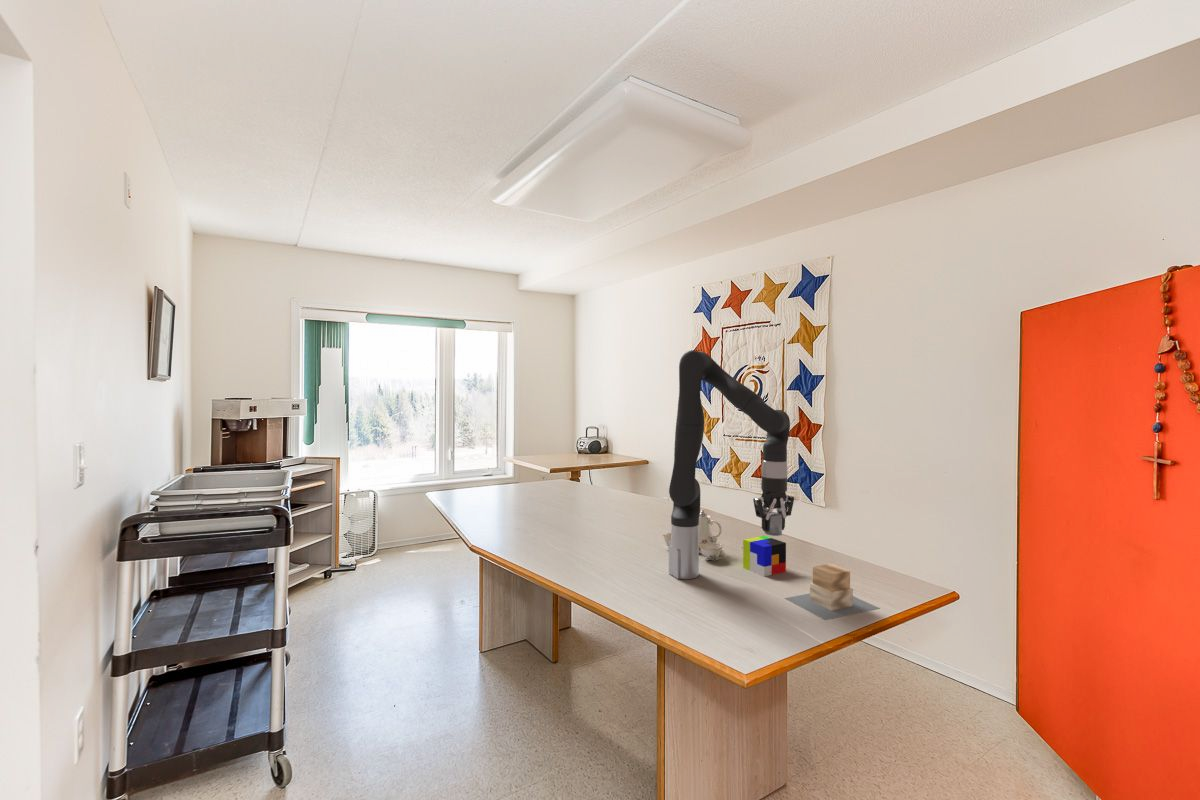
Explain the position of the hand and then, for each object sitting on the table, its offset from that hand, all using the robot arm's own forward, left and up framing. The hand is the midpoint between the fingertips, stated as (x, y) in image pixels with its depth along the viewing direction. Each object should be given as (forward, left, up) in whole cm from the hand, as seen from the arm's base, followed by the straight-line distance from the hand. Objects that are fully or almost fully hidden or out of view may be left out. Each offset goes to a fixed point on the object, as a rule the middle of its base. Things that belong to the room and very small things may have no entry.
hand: (773, 530), depth 164 cm
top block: (+9, -14, -14) cm, 22 cm away
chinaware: (0, +44, -20) cm, 48 cm away
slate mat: (+9, -14, -19) cm, 26 cm away
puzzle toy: (+11, +18, -20) cm, 29 cm away
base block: (+9, -14, -19) cm, 25 cm away
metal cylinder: (0, 0, -1) cm, 1 cm away
